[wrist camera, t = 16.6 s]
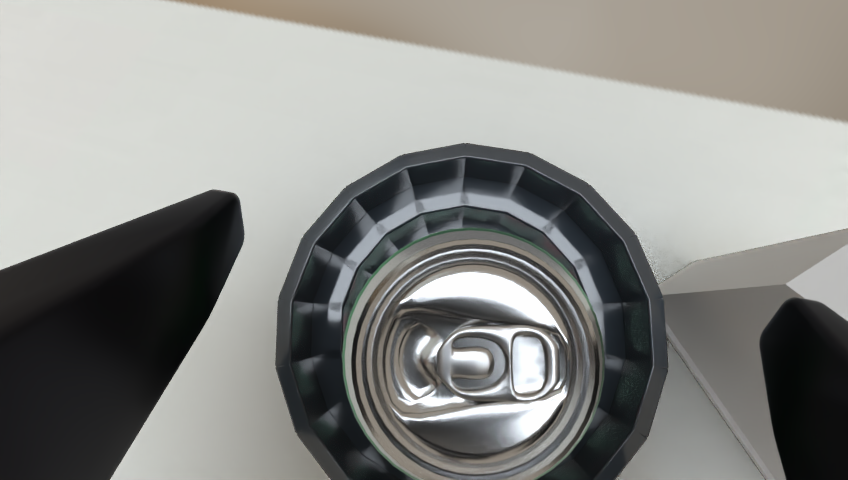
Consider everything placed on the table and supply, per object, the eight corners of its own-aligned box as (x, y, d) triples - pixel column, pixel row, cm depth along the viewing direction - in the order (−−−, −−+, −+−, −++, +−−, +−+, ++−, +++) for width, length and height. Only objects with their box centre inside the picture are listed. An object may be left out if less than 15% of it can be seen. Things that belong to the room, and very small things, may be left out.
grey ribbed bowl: (448, 548, 20) (447, 635, 15) (261, 308, 22) (199, 306, 17) (675, 348, 21) (754, 360, 15) (477, 129, 23) (485, 71, 17)
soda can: (398, 270, 21) (332, 217, 9) (523, 270, 21) (617, 216, 9) (397, 398, 21) (324, 514, 9) (526, 399, 20) (631, 522, 8)
